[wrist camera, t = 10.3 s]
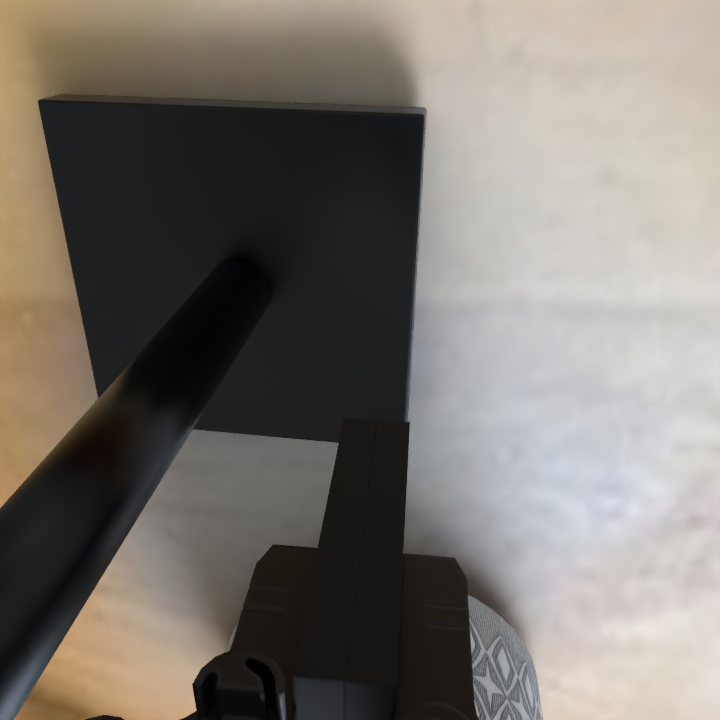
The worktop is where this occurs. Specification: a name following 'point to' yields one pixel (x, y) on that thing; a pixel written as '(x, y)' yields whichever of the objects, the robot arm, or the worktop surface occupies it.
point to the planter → (497, 668)
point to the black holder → (208, 313)
